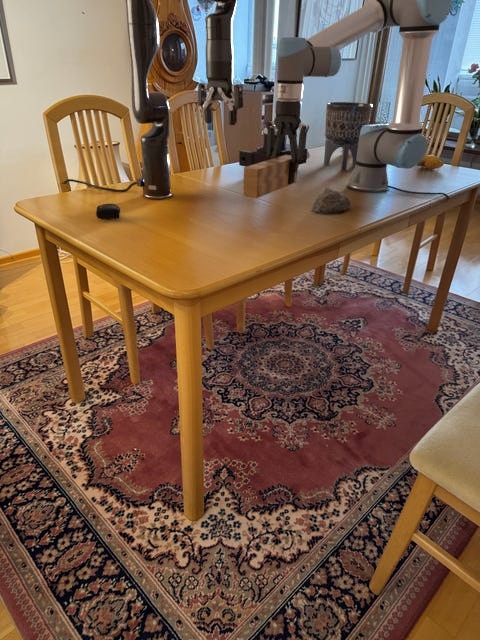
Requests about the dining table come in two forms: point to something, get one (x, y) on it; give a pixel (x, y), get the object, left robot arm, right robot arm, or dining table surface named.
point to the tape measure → (108, 211)
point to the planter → (345, 128)
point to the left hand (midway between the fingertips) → (220, 123)
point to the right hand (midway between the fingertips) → (283, 181)
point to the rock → (331, 202)
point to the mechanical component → (261, 154)
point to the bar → (267, 176)
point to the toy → (430, 162)
